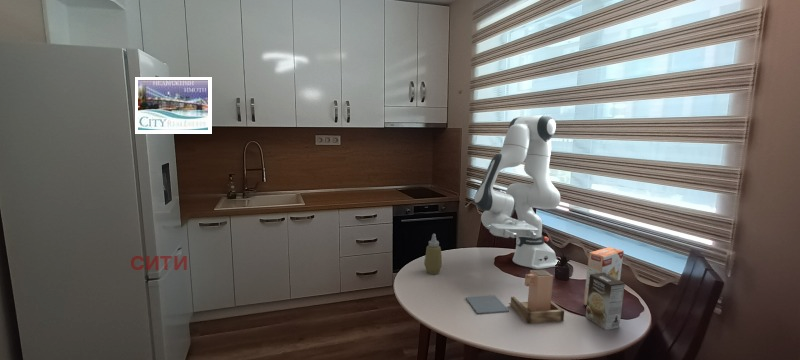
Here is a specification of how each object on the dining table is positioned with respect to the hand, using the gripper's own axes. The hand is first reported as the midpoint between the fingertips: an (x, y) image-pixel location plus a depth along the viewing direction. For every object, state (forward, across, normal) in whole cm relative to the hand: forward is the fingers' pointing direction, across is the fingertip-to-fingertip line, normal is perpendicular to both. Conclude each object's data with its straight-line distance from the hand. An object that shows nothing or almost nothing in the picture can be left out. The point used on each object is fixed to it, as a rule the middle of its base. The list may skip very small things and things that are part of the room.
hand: (525, 236), depth 143 cm
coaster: (+5, -16, +26) cm, 31 cm away
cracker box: (+15, +27, +22) cm, 38 cm away
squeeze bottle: (-29, -24, +26) cm, 46 cm away
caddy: (+14, -1, +24) cm, 28 cm away
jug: (+14, -1, +24) cm, 28 cm away
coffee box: (+26, +17, +23) cm, 38 cm away
